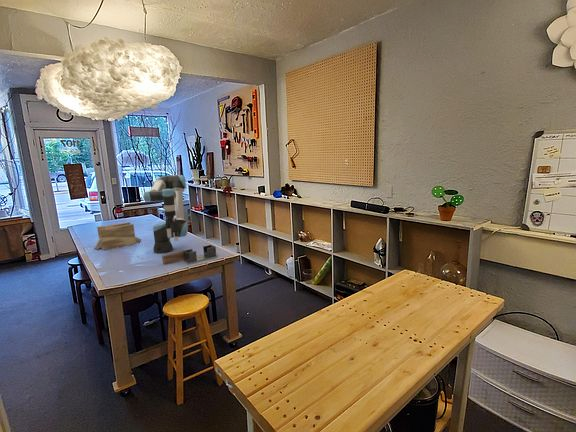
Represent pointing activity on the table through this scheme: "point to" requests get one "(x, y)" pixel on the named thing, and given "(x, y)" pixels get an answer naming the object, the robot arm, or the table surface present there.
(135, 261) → the table surface
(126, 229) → the cradle
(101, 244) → the wall bracket
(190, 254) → the grey rectangular holder
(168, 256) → the rail
